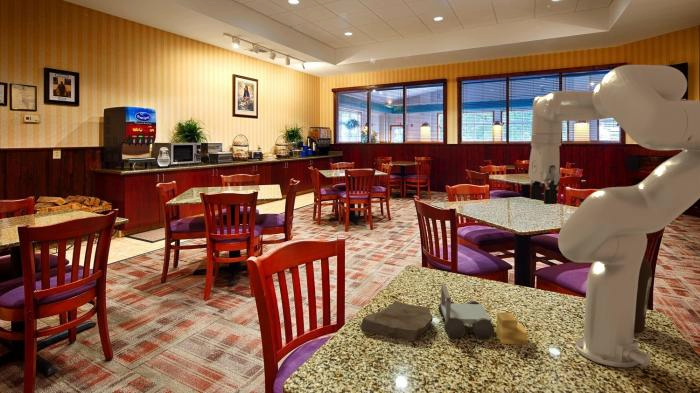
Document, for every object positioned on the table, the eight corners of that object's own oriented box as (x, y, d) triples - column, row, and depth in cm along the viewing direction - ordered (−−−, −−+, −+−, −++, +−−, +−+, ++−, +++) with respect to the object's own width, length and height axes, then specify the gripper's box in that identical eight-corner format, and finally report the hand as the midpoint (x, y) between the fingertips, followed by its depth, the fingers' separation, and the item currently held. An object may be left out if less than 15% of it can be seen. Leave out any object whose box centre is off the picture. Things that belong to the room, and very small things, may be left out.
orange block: (520, 335, 102) (521, 313, 101) (527, 344, 97) (528, 320, 96) (496, 335, 102) (497, 312, 101) (501, 343, 98) (502, 320, 97)
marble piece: (359, 331, 106) (359, 316, 105) (383, 311, 118) (383, 297, 118) (420, 346, 97) (420, 329, 97) (438, 323, 110) (438, 308, 110)
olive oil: (602, 330, 104) (609, 235, 101) (596, 314, 114) (601, 227, 111) (652, 337, 100) (660, 239, 97) (641, 320, 109) (648, 230, 106)
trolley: (481, 318, 112) (482, 283, 111) (493, 339, 100) (495, 300, 98) (438, 317, 113) (438, 282, 112) (444, 338, 101) (445, 299, 99)
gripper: (521, 140, 121) (518, 197, 123) (545, 140, 104) (541, 206, 106) (546, 140, 120) (543, 197, 122) (575, 140, 103) (570, 206, 105)
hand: (542, 201), depth 114 cm, fingers open, 9 cm apart
